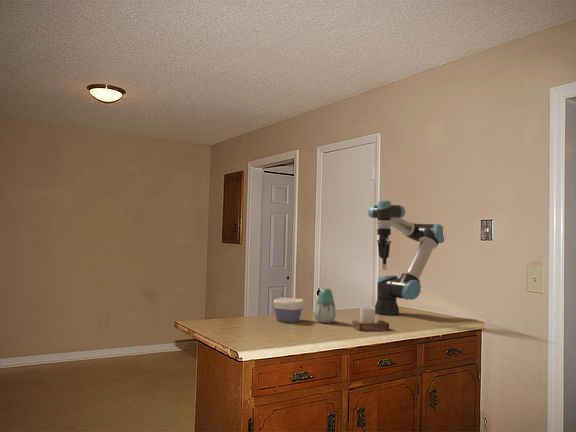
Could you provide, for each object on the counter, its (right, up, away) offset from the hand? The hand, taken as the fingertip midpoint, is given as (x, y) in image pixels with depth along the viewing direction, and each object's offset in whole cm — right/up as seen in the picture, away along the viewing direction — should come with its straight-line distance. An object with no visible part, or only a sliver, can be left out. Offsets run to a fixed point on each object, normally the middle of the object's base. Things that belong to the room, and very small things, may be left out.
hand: (383, 269), depth 275 cm
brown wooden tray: (-12, -27, -27) cm, 40 cm away
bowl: (-54, -26, -12) cm, 61 cm away
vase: (-34, -27, -13) cm, 45 cm away
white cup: (-13, -27, -23) cm, 38 cm away
